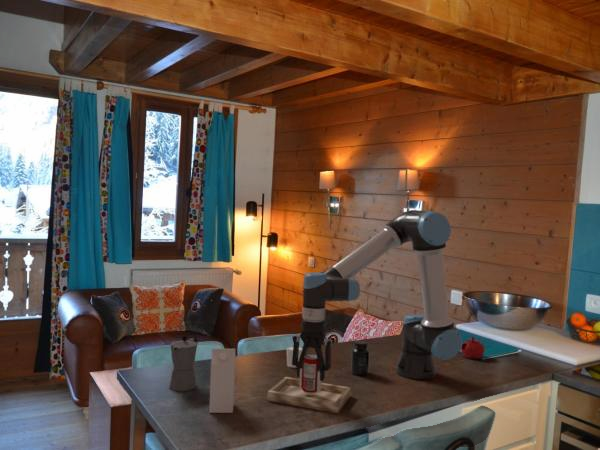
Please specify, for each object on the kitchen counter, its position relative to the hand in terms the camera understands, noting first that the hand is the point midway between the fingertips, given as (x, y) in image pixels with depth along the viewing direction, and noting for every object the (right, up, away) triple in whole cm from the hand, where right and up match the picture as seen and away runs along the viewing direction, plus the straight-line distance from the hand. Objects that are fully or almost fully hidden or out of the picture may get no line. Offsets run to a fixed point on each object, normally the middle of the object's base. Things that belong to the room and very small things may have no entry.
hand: (310, 388), depth 177 cm
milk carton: (-28, -3, -12) cm, 30 cm away
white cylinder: (-6, -2, +35) cm, 35 cm away
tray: (0, -3, 0) cm, 3 cm away
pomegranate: (+73, -4, +57) cm, 93 cm away
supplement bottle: (+20, -3, +29) cm, 35 cm away
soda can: (0, -1, 0) cm, 1 cm away
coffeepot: (-43, -1, +7) cm, 44 cm away
